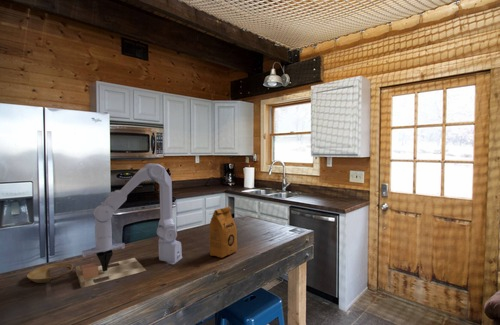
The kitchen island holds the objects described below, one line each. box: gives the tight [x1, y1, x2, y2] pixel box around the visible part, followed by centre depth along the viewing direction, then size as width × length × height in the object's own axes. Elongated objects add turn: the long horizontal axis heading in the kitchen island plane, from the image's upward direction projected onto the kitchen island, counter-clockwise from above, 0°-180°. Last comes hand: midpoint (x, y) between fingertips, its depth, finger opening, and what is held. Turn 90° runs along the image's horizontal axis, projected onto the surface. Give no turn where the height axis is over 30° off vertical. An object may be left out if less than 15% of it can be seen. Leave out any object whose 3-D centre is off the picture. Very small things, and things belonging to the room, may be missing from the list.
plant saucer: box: [26, 262, 74, 284], centre depth 107 cm, size 15×15×3 cm
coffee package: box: [208, 206, 238, 258], centre depth 128 cm, size 10×12×22 cm
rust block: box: [80, 261, 99, 280], centre depth 104 cm, size 5×5×4 cm
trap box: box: [75, 257, 147, 289], centre depth 108 cm, size 22×17×3 cm
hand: (104, 270), depth 107 cm, fingers closed
